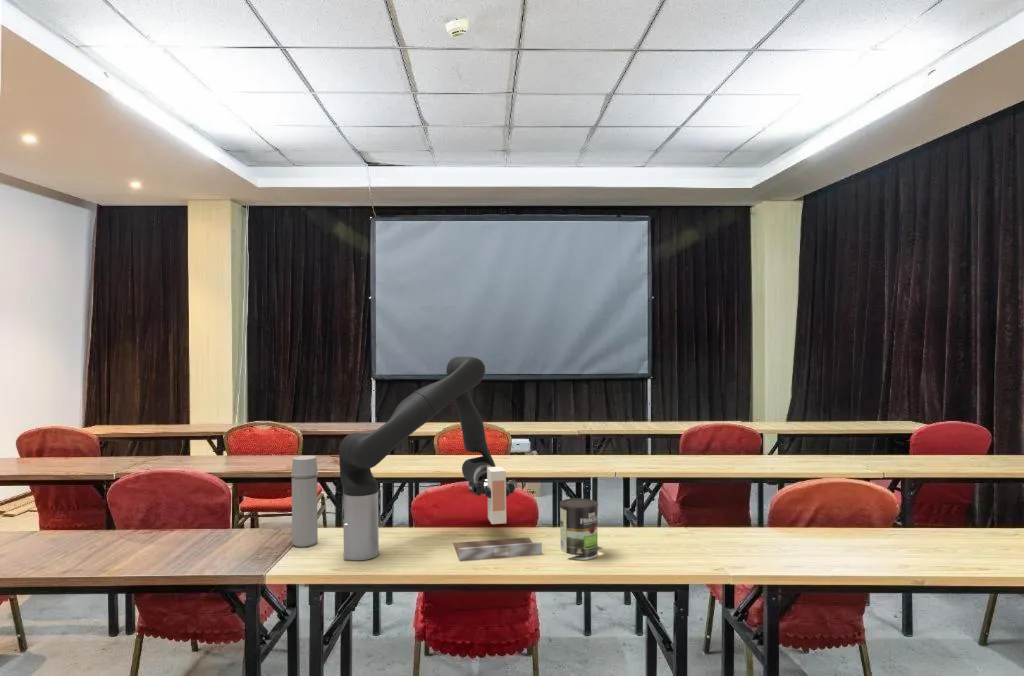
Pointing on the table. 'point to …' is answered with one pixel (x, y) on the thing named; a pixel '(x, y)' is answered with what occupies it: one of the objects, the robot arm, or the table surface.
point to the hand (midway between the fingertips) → (498, 493)
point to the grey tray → (497, 548)
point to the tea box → (497, 495)
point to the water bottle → (304, 501)
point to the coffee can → (579, 528)
